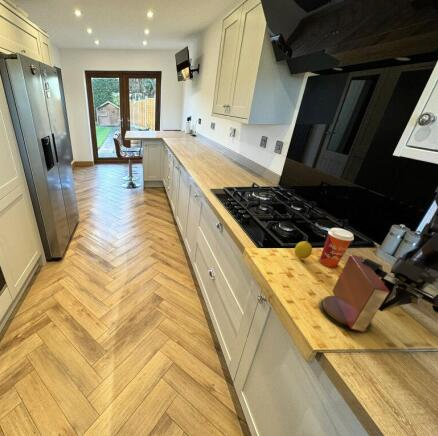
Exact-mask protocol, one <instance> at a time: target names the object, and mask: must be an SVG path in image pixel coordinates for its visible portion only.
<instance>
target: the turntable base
mask: <svg viewBox="0 0 438 436" xmlns="http://www.w3.org/2000/svg"><path fill="white" fill-rule="evenodd" d="M323 301H324V299H322V300H321V302H320V304H319V308H320V311H321V312H322V314H323V315H324V316H325V317H326V318H327V319H328V320H329V321H330V322H332V323H333V324H335V325H336V326H338V327H340V328H342V329H345V330H347V331H351V332H356V333H363V332H362V331H358V330H354V329H351V328H350V327H349V326H347V325H344V324H342V323H340V322H338V321H337V320H335V319H334V318H332V317H331V316H330V315H329V314H328V313H327V312H326V311H325V310H324V308H323V304H322V303H323ZM370 327H371V323H370V324H369V326H368V327H367V328H366V330H365V331H364V332H367V331H368V330H369V329H370Z"/></svg>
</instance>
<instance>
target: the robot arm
mask: <svg viewBox="0 0 438 436" xmlns="http://www.w3.org/2000/svg"><path fill="white" fill-rule="evenodd" d="M434 193H436V194H435V197H434V201H435V204H436V206H437V207H436V210H435V211H434V213H433V215H432V217H431V218H430V220H429V222H427V223H425V225H424V226H423V228H422V230H421V232H420V233H419V240H418V242H417V244H416V245H415V247H414V248H413V249H411V250H409V251H407V252H405V253H403V254H402V257H401V256H398V257H397V259H395V261H394V263H393V264H392V266H391V269H390V273H391V274H390V273H389V272H387V271H386V270H385V271H384V269H383V265H382V264H380V263H377V262H376V261H374V260H372V259H369V258H364V259H363V260H362V261H361V262H362V263H363V264H365V265H367V266H369V267H371V268H372V269H373V271H374V272H375V273H376V275H377V276H378V277H379V278H380V280H381V281H382V282H383V283H384V285H385V286H386V287H387V288H388V290H389V291H390V292H389V294H388V295H387V297H386V298H385V300H384V302H383V303H382V305H381V306H380V308H379V309H378V311H380V312H382V313H383V312H385V311H387V310H390V309H393V308H397V307H401V306H404V305H409V304H413V305H415V306H418V305H419V303H420V301H424V302H427V303H428V304H430V305H431V308H432V310H433V312H434V313H436V314H438V293H437V294H436V295H433V294H431V293H429V292H426V291H425V290H426V288H427V287H428V286H430V285H432V286H434V285H436V284H437V283H438V186H437V187H436V189H435V191H434Z"/></svg>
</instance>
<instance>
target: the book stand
mask: <svg viewBox="0 0 438 436" xmlns="http://www.w3.org/2000/svg"><path fill="white" fill-rule="evenodd" d="M363 259H365V258H364V256H359V255H354V254H349V255H348V259H347V261H346V262H345V264H344V266H343V268H342V271H341V272H340V274H339V277H338V278H337V280H336V282H335V284H334V287H333V289H332V293H333V295H328V296H326V297H324V298H323V300H324V301H323V303H322V304H323V308H324V310H325V311H326V312H327V313H328V314H329V315H330V316H331V317H332V318H334V319H335V320H337V321H338V322H340V323H342V324H344V325H347V326H349V327H350V328H351V329H354V330H358V331H362V332H361V333H364V332H366V331H365V330H366V328H367V327H368V326H369V324H370V325H371V323H372V321H373V319H374V318H375V316H376V314H377V313H378V311H379V310H378V309H379V308H380V306H381V305H382V303H383V302H384V300H385V298H386V297H387V295H388V294H389V292H390V291H389V290H388V288H387V287H386V286H385V285H384V283H383V282H382V281H381V278H380V277H378V276H377V275H376V273H375V272H374V271H373V269H372V268H371V267H369V266H367V265H365V264H363V263H362V262H361V261H362V260H363Z"/></svg>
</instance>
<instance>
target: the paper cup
mask: <svg viewBox="0 0 438 436" xmlns="http://www.w3.org/2000/svg"><path fill="white" fill-rule="evenodd" d="M327 233H328V234H327V236H326V240H325V243H324V246H323V249H322V252H321V255H320V257H319V258H320V259H319V263H320V264H322V265H323V266H324V267H327V268H332V269H333V268H336V267H338V265H339V263H340V261H341V260H342V258H343V257H344V255H345V253H346V252H347V249H348V248H349V247H350V244H351V243H352V241H354V239H355V237H354V233H352V232H351V231H349V230H347V229H344V228H340V227H331V228H330V230H328V231H327Z"/></svg>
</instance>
